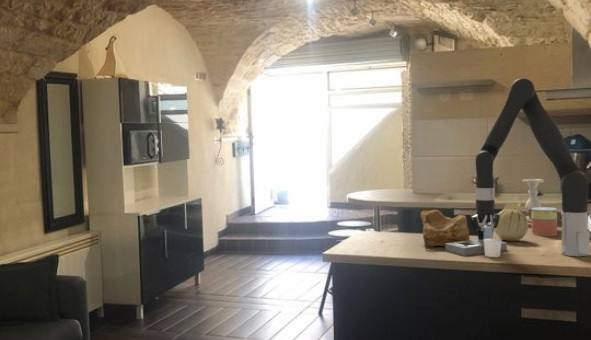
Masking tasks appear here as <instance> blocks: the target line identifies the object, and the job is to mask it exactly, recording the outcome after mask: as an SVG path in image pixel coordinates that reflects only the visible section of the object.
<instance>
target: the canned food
mask: <svg viewBox="0 0 591 340" xmlns="http://www.w3.org/2000/svg"><path fill="white" fill-rule="evenodd" d="M531 209H532V228H531V235H536V236H541V237H542V236H544V237H547V236H548V237H550V236H552V237H553V236H557V235H558V231H557V230H558V227H557V226H558V209H557V208H555V207H549V206H546V207H545V206H541V207H534V208H531Z"/></svg>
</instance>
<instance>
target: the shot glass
mask: <svg viewBox="0 0 591 340" xmlns="http://www.w3.org/2000/svg"><path fill="white" fill-rule="evenodd" d="M483 241H484V250H485V253H484V256H485V257H488V258H490V257H491V258H497V257H500V256H501V252H502V251H501V242H502V239H501V238H496V237H492V238H485V239H483Z"/></svg>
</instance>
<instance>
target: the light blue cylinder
mask: <svg viewBox="0 0 591 340" xmlns="http://www.w3.org/2000/svg"><path fill="white" fill-rule="evenodd" d="M480 228H481V227H480ZM477 238H478V237H477ZM485 238H493V237H492V228H491V226H487V224H485V226H484V229H483V239H485ZM478 242H480V243H484V241H483V240H479V238H478Z"/></svg>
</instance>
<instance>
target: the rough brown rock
mask: <svg viewBox="0 0 591 340" xmlns="http://www.w3.org/2000/svg"><path fill="white" fill-rule="evenodd" d="M420 218H421V220H422V238H423V242H424V244H423V245H424V247H430V248H431V247H432V248H433V247H435V246H436V247H437V246H442V247H445V243H452V242H460V241H469V240H471V239H470V229H469V227H468V221H467V220H468V219H467V216H466V215H464V214H458V215H457V216H455V217H452V218H451V217H448V216H445V215H444V214H443V213H442V212H441V211H440V210H438V209H431V210H427V209H426V210H422V211H421V212H420Z"/></svg>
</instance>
